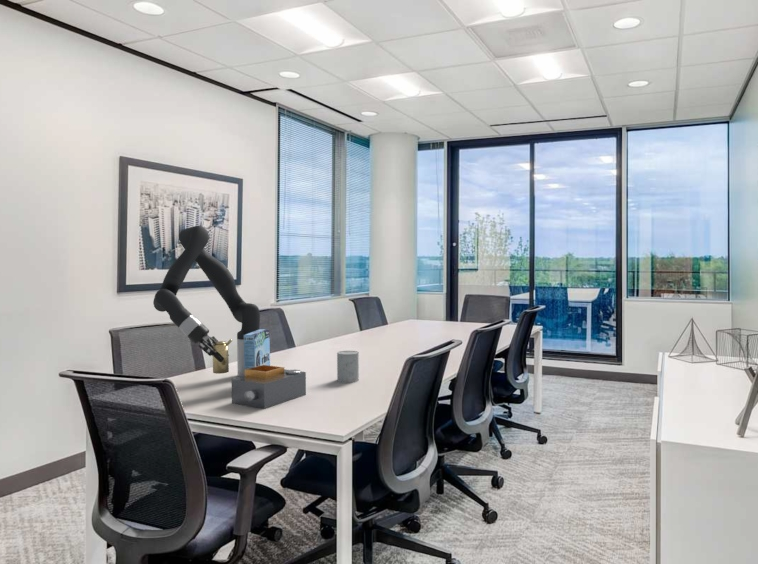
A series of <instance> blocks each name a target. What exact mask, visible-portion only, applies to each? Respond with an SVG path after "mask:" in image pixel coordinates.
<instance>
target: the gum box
mask: <svg viewBox="0 0 758 564" xmlns="http://www.w3.org/2000/svg"><path fill="white" fill-rule="evenodd" d="M270 338H271V337H270V329H268V328H267V329H266V328H265V329H263V328H262V329H261V328H260V329H259V330H257V331H254V332H251V333H248V334H246V335H244V376H245V369H248V368H252V367H256V366H261V365H270V366H271V351H270V349H271V348H270V347H271V346H270V341H271V340H270Z"/></svg>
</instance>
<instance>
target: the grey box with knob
mask: <svg viewBox="0 0 758 564" xmlns="http://www.w3.org/2000/svg"><path fill="white" fill-rule="evenodd" d="M306 374H307V372H306V371H301V369H285V367H284V366H278V365H271V364H270V365H261V366H256V367H252V368H248V369H245V376H242V377H238V376H237V377H236V378H235V377H234V378H232V379H231V404H234V403H235V404H236V405H241V406H245V405H246V406H247V407H253V408H257V409H264V410H265V409H268V408H271V407H274V406H277V405H280V404H282V403H286V402H289V401H291V400H295V399H297V398H300V397H303V396H305V395H307V383H306V382H307V380H306V379H307V377H306V376H307V375H306ZM235 404H234V405H235Z"/></svg>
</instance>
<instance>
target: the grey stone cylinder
mask: <svg viewBox="0 0 758 564" xmlns="http://www.w3.org/2000/svg"><path fill="white" fill-rule="evenodd" d="M359 359H360V358H359V351H356V350H340V351H337V352H336V363H337V364H336V370H337V374H336V375H337V376H336V377H337V380H336V381H337V382H338V383H343V384H344V383H345V384H347V383H349V384H350V383H356V382H359V380H360V379H359V378H360V377H359V376H360V374H359V370H360V369H359V368H360V367H359V366H360V365H359V364H360V363H359Z"/></svg>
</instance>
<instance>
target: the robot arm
mask: <svg viewBox="0 0 758 564" xmlns="http://www.w3.org/2000/svg"><path fill="white" fill-rule="evenodd" d="M178 239H179V242H180V244H181V246H182V248H183V251H182V253H181V254H180V255H179V256H178V257H177V259H175V261H174V262H173V263H172V264H171V266H169V269H168V270H167V272H166V274H165V276H164V278H163V281H162V284H161V286H160V287H159V289H158V290H157V291H156V293H155V294H154V298H153V307H154V308H155V310H156V311H158V312H161V313H163V312H166V313H167V314H168V315H169V319H170V320H171V322H173V324H174V325H175V326H177V327H178V328H179V329H180V331H181V332H182V333H183V335H185V336H186V338H188V339H189V340H190V341H191V342H192V343H193V345H197V344H199V345H198V347H199V348H200V349H201V350H202V351H203V352H204V353H205V354H207V355H208V356H209V357H213V356H214V357H215V358H216V359H217V360H218V361H219V362H222V361H223V360H224V357H223V356H222V355H221V354H220V353H219V352H217V350H216V349H215V346H214V342H218V341H219V340H218V339H217V338H216V337H215V336H210V335H209V333H210V329H208V328H207V327H206V325H204V324H203V323H202V321H200V320H199V319H198V318H197V317H196V316H195V315H193V314H192V313H191V312H190V311H189V310H188V309H187V308H185V306H184V305H183V304H182V302H181V301H180V299H179V298H178V297H177V294H178V292H179V290H180V288H181V286H182V284H183V283H184V280H185V278H186V276H187V275H188V273H189V271H190V269H191V267H192V265H193V264H194V263H195V262H196V264H197V265H198V267H199V268H200V269H201V270H202V272H203V273H204V275H205V276H206V278H207V279H208V280H209V282H210V283H211V285H212V286H213V288H214V289H215V290H216V291H217V293H218V294H219V296H221V298H222V299H223V301H224V302H225V303H226V305H227V307H228V308H229V311H230V312H231V314H232V316H233V318H234V319H235V321H237V322H238V323H241V329H240V330H239V331H237V334H236V344H237V345H236V348H237V349H236V353H237V360H236V361H237V378H238V377H242V376H244V335H246V334H248V333H251V332H254V331H257V330H259V329H261V328H260V326H261V324H260V323H261V322H260V321H261V314H260V313H261V312H260V309H259V307H258V306H257V305H256V304H255V303H251V302H250V303H247V302H245V300H243V297H241V296H240V294H239V292H238V290H237V286H236V281H235V279H234V276H233V274H232V273H231V272H230V269H229V268H227V266H226V265H225V264H224V263H223V262H221V260H219V259H217V258H216V257H214V256H213V255H211V254H210V253H209V252H208V251H207V250H206V248H205V247H206V246H207V245H208V242H209V240H210V235H209V232H208V229H206V227H204V226H202V225H194V226H191V227H188V228H187V227H186V228H184V229H182V230H181V231H180V232H179V234H178ZM229 356H230V354H229V353H228V357H229Z"/></svg>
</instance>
